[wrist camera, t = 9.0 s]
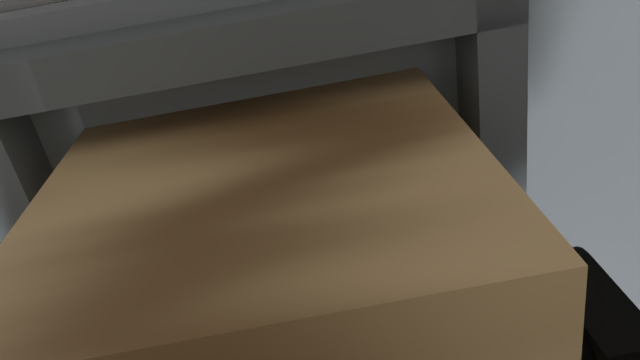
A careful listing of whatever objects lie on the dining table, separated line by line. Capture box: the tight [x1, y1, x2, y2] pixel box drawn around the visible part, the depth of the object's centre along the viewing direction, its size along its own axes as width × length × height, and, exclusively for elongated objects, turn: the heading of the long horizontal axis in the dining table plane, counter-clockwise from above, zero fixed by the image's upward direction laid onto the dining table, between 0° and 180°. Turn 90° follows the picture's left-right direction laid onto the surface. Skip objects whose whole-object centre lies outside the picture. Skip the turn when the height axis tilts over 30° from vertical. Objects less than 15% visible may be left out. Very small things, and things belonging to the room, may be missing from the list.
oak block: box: [0, 67, 588, 360], centre depth 9 cm, size 6×6×6 cm
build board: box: [0, 0, 640, 310], centre depth 12 cm, size 16×12×2 cm
